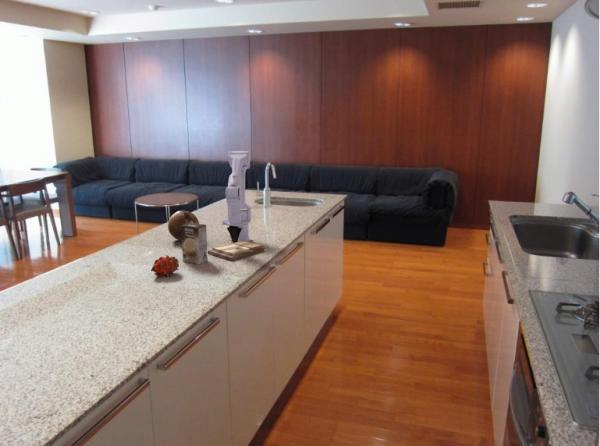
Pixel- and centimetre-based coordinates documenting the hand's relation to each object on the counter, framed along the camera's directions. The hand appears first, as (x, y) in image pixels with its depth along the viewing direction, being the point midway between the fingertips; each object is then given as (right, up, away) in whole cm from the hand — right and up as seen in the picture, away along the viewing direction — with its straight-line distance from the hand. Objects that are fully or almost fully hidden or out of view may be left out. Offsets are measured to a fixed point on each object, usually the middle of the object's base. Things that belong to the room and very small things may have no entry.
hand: (235, 242), depth 222 cm
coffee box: (-16, -8, -10) cm, 21 cm away
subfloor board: (0, -5, +2) cm, 5 cm away
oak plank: (-2, -4, -1) cm, 4 cm away
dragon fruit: (-24, -12, -28) cm, 39 cm away
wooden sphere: (-28, 0, +22) cm, 35 cm away
